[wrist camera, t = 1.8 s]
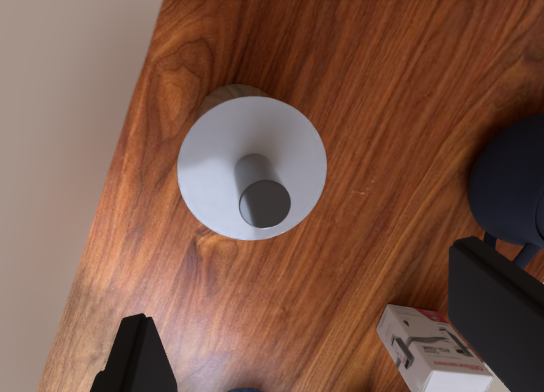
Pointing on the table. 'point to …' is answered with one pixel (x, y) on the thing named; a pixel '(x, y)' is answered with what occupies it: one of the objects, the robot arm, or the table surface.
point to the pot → (245, 390)
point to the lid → (251, 168)
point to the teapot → (512, 188)
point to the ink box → (430, 352)
